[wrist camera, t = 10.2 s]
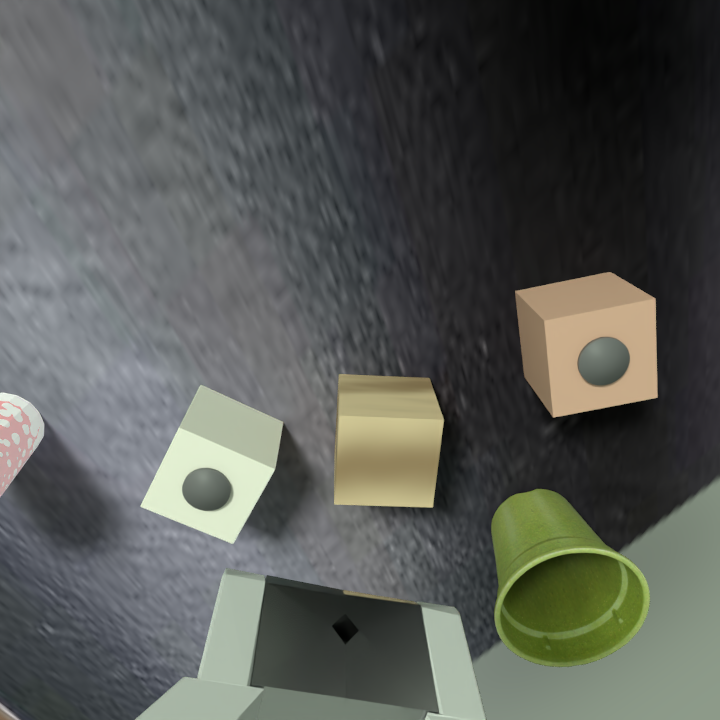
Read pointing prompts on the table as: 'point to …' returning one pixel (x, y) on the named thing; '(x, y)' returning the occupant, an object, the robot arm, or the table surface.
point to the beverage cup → (17, 435)
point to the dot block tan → (588, 343)
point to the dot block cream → (216, 465)
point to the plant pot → (561, 584)
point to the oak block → (386, 441)
